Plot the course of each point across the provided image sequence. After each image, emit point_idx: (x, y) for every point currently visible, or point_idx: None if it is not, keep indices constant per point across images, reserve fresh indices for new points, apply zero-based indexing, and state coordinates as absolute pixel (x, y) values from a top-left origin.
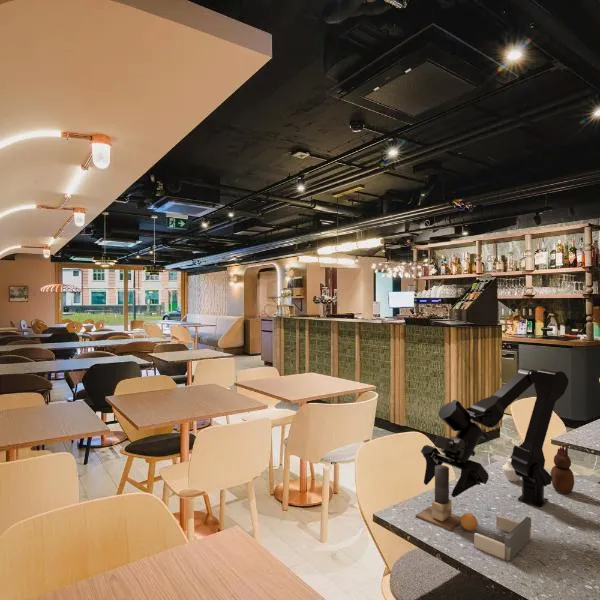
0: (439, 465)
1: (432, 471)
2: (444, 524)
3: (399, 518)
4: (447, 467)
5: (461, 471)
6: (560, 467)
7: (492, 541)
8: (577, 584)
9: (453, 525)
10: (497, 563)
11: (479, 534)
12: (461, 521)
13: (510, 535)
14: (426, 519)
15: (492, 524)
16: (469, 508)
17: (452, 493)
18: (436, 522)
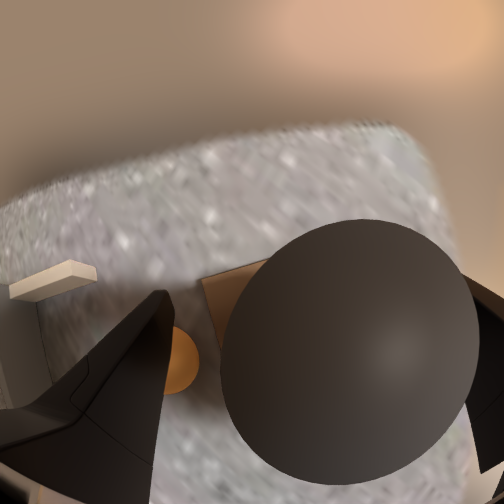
0: (454, 384)
1: (488, 371)
2: (238, 284)
3: (368, 171)
4: (309, 463)
5: (22, 433)
6: None
7: (29, 277)
8: None
9: (215, 314)
10: (35, 257)
11: (62, 276)
12: (175, 328)
13: None
14: None
15: (169, 458)
16: (304, 488)
17: (155, 295)
18: None
